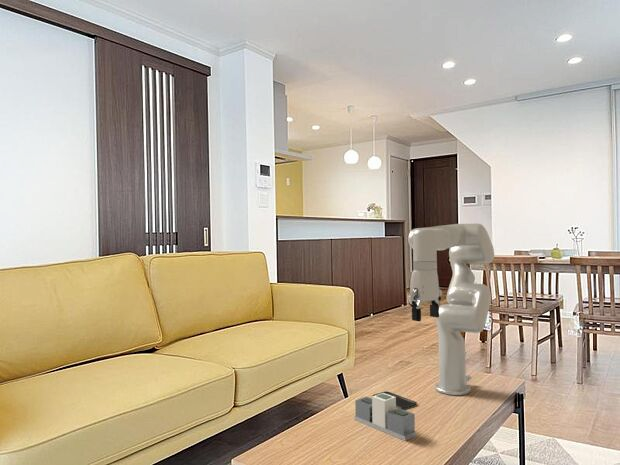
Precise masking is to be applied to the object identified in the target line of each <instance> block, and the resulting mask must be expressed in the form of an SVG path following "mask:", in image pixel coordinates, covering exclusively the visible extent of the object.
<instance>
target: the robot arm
mask: <svg viewBox="0 0 620 465" xmlns="http://www.w3.org/2000/svg"><path fill="white" fill-rule="evenodd" d="M407 238H408V239H407V242H408V245H409V247H410V248H411V249H412V255H413V256H412V268H413V269H412V272H411V275H410V276H411V277H410V283H409V285H410V288H409V294H408V295H407V296H406V297H407V300H408V304H409V306H410V308H411V321H413V322H414V321H415V322H421V321H422V309H421V308H420V307H421V306H422V304H423V303H427V302H430V304H429V316H430V317H431V318H432V317H433V318H435V322H436V326H437V334H438V382H437V383H435V384H434V389H435V390H436V392H439V393H441V394H445V395H448V396H449V395H452V396H464V395H467V394H470V392H471V387H470V386H469V385H468V384H467V382H468V381H471V380H472V376H471V375H470V374H468V375H467V374H466V372H467V371H466V370H467V369H466V366H467V365H466V364H467V360H466V341H465V338H464V337H463V335H462V334H461V332H464V333H471V334H478V333H481V332H483V331H484V329H485V325H486V323H487V322H486V321H487V320H488V314H489V312H490V311H489V310H490V306H491V302H492V301H491V300H492V293H491V289H490V288H489V287H488V286H487V285H486V284H484V283H483V284H482V283H475V281H476V276H475V274H474V272H473V271H472V270H471V268H470V267H469V266H468V265H467V264H470V265H471V264H472V265H473V264H474V265H475V264H476V265H488V264H491V263H492V262H493V261H494V258H495V249H494V246H493V243H492V240H491V237H490V234H489V233H488V231H487V229H486V227H485V226H484V225H483V224H482V223H454V224H446V225H444V224H443V225H436V226H428V227H417V228H416V227H415V228H413V229H412V230H410V232H409V234H408V237H407ZM447 249H449V251H448V257H449V262H450V267H451V270H452V271H451V272H452V277H451V279H450V283H449V286H448V289H447V293H446V302H447V303H446V304H445V303H444V304H441V299H442V295H443V291H442V290H441V289H440V286H439V284H440V283H439V275H438V260H437V259H438V254H437V253H438V252H437V251H445V250H447Z"/></svg>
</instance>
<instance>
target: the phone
mask: <svg viewBox="0 0 620 465" xmlns="http://www.w3.org/2000/svg"><path fill="white" fill-rule="evenodd" d="M381 393H385V394H388V395H391V396H394V397H396V409H397V408H400V409H402V410H405V411H406V410H408V409H411V408H414V407H416V406H418V403H417V401H414V400H413V399H412V400H411V399H409V398H406V397H404V396H401V395H398V394H396V393H392V392H391V391H381V392H379V393H375V394H373V395H372V396H375V395H378V394H381ZM372 396H371V397H372Z"/></svg>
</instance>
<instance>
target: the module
mask: <svg viewBox="0 0 620 465" xmlns="http://www.w3.org/2000/svg"><path fill="white" fill-rule="evenodd" d="M380 393H381V392H380ZM377 394H378V393H377ZM371 398H372V423H374V424H376V425H378V426H381V427H383V428H387V412H389V411H392V410H394V409H397V408H396V397H394V396H391V395H388V394H385V393H381V394H378V395H375V396H371Z"/></svg>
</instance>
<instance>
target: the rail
mask: <svg viewBox="0 0 620 465" xmlns="http://www.w3.org/2000/svg"><path fill="white" fill-rule="evenodd" d="M354 405H355V415H354V420H355V421H357V422H360V423H362V424H364V425H366V426H368V427H371V428H373V429H376V430H378V431H381V432H384V433H385V434H388V435H390V436H391V437H394V438H397V439H400V440H402V441H404V442H406V441H408V440H411V439H413V438H414V437H416V436H417V431H416V421H415V420H416V417H415V412H414V413H413V412H411V411H408V410H406V409H405V410H402V409H400V408H396V409H394V410H392V411H389V412H387V428H383V427H381V426H378V425H376V424H374V423H372V397H369V396H364V397H361V398H359V399H355V404H354Z"/></svg>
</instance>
